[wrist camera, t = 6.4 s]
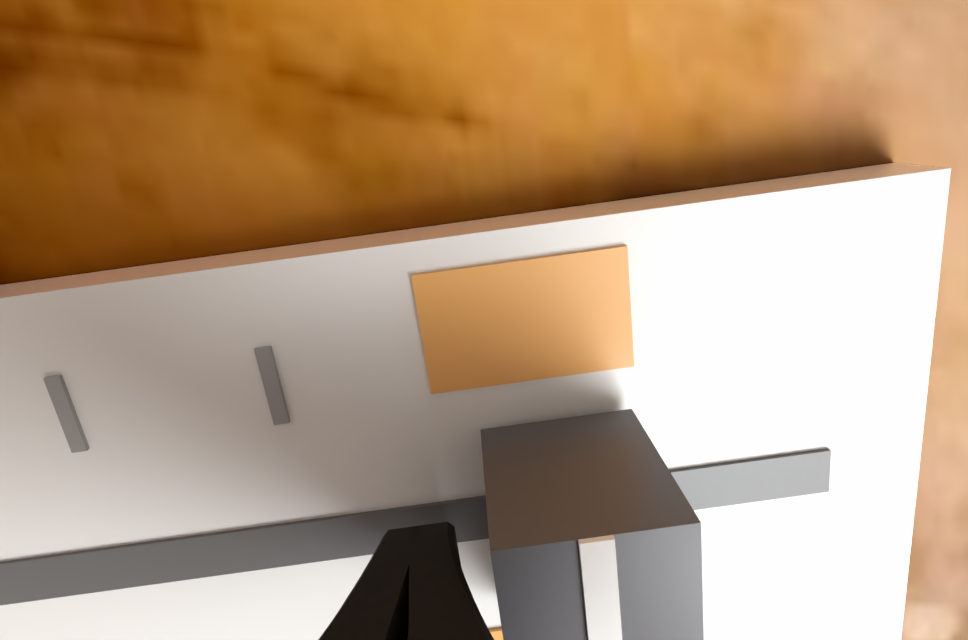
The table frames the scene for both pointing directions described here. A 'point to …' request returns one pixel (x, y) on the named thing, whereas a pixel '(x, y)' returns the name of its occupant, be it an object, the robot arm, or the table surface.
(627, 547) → the fader
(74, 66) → the table surface
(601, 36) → the table surface
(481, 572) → the panel
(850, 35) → the table surface
